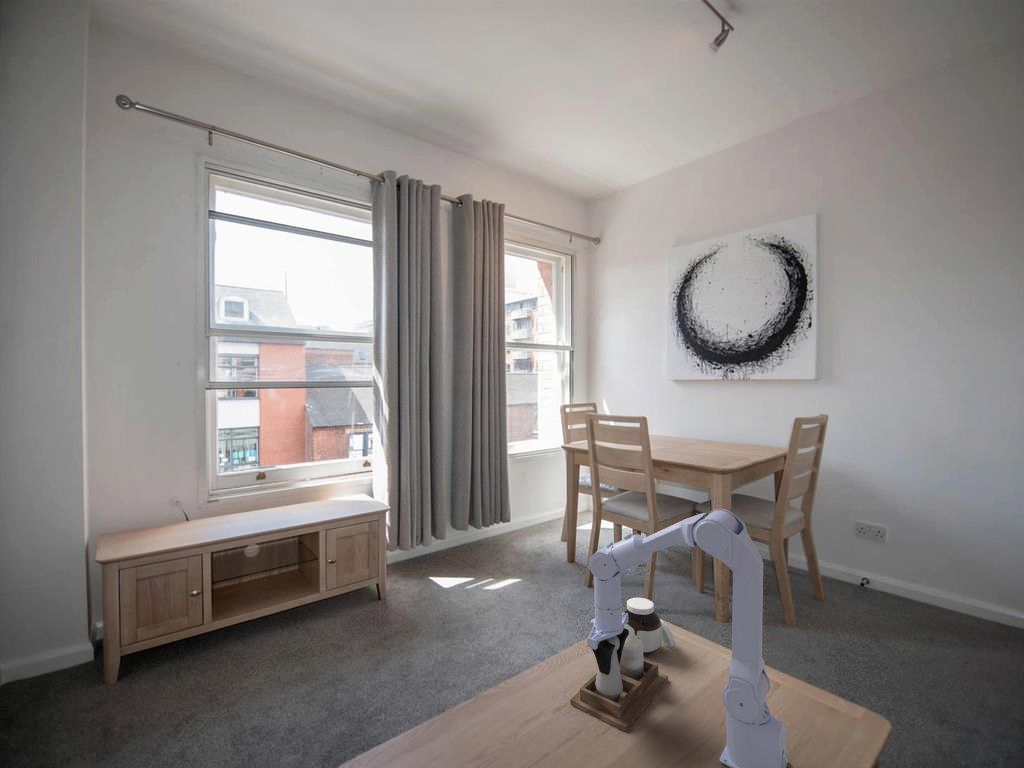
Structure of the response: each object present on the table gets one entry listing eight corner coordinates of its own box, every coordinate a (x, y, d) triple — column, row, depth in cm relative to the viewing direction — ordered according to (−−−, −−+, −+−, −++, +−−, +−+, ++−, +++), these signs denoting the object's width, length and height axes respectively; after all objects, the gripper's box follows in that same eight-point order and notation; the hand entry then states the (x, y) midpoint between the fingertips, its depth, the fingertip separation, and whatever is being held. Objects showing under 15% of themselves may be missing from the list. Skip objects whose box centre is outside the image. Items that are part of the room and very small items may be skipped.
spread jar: (616, 646, 123) (615, 601, 123) (641, 630, 130) (639, 588, 130) (657, 665, 114) (655, 617, 114) (681, 648, 121) (679, 602, 121)
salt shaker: (623, 690, 103) (623, 631, 103) (622, 708, 97) (623, 645, 97) (596, 686, 104) (597, 627, 104) (594, 702, 99) (594, 640, 99)
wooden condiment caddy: (668, 680, 108) (667, 641, 108) (625, 732, 92) (624, 686, 92) (617, 660, 116) (616, 623, 116) (570, 704, 100) (569, 662, 101)
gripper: (608, 588, 109) (609, 646, 109) (573, 611, 98) (575, 676, 98) (636, 596, 104) (637, 657, 104) (603, 621, 93) (605, 690, 93)
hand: (609, 667), depth 101 cm, fingers closed on salt shaker, 4 cm apart
